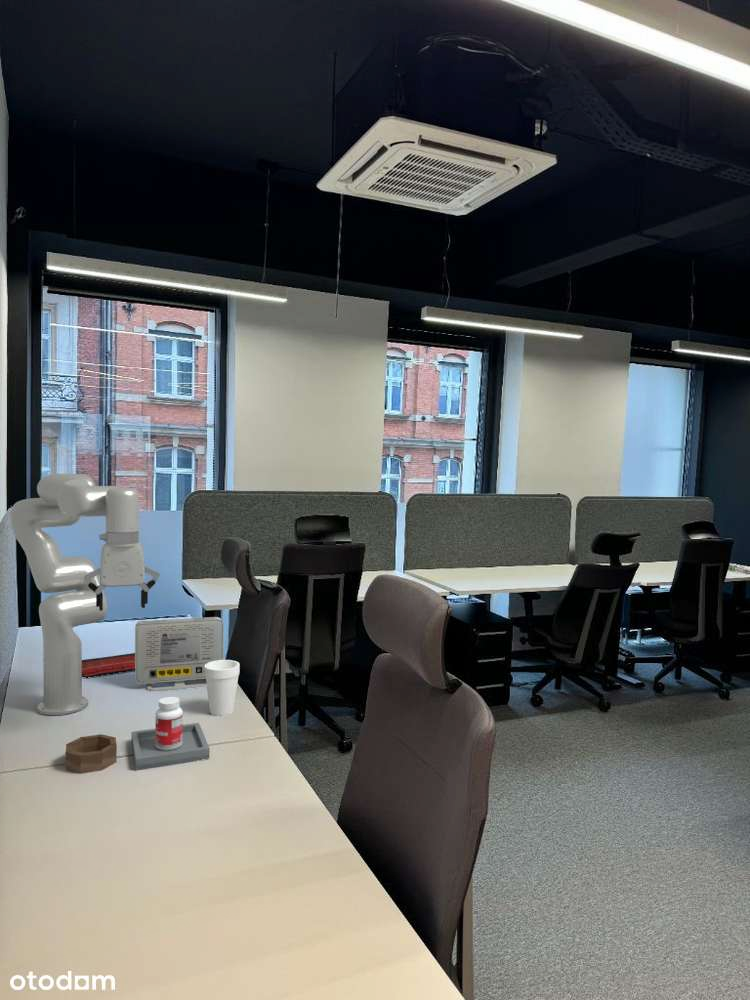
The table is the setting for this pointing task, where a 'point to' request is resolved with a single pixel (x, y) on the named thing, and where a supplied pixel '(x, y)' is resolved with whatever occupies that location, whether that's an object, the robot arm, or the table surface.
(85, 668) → the binder
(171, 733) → the pill bottle
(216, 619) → the network device
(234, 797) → the table surface
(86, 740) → the holder ring
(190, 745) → the tray
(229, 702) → the foam cup
